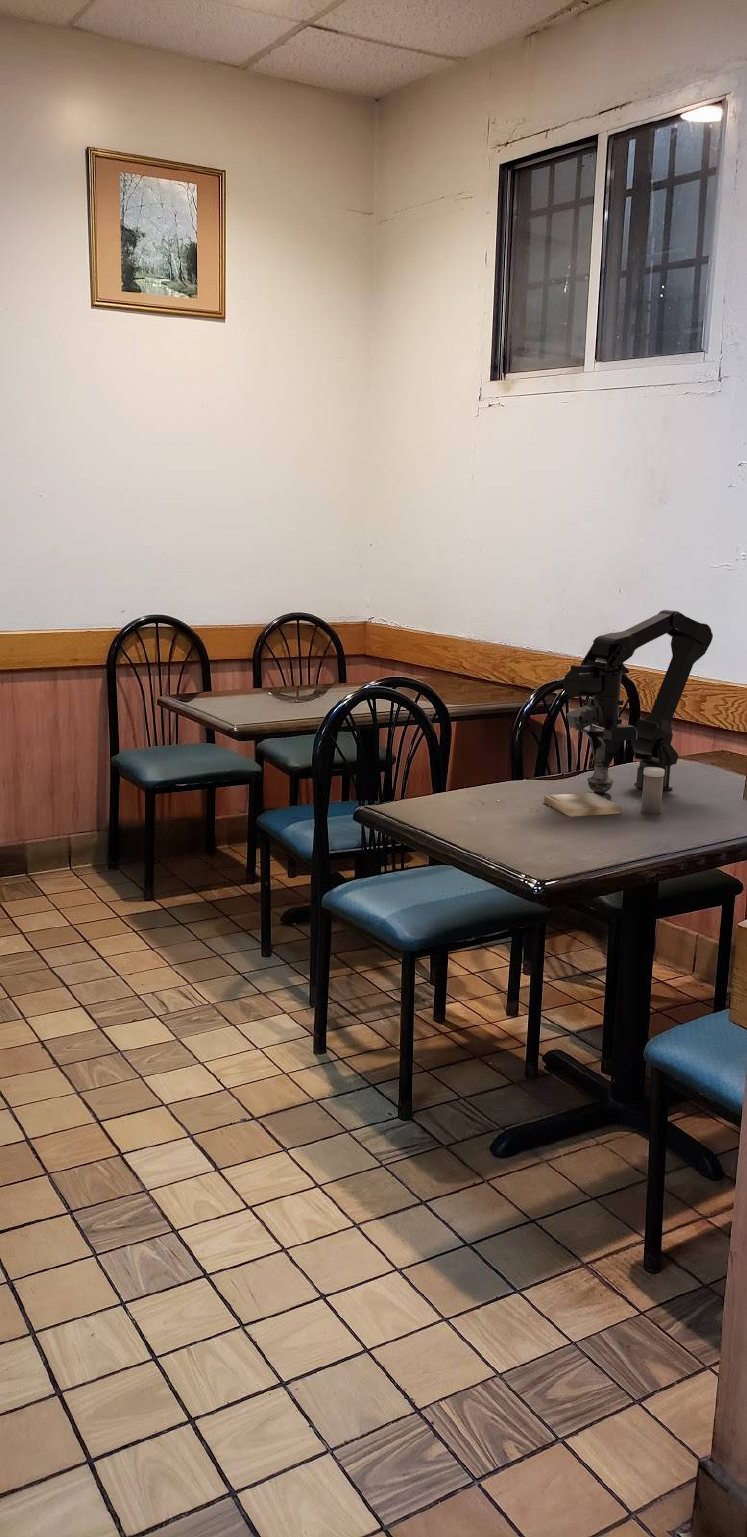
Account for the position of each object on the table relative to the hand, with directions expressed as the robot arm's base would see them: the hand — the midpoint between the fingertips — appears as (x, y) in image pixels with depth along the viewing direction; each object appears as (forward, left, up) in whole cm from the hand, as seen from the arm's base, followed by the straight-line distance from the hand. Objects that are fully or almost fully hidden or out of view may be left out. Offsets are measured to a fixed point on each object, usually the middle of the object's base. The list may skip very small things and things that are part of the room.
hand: (601, 764), depth 261 cm
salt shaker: (0, 0, -7) cm, 7 cm away
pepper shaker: (-4, +15, -7) cm, 17 cm away
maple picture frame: (+9, +9, -7) cm, 15 cm away
